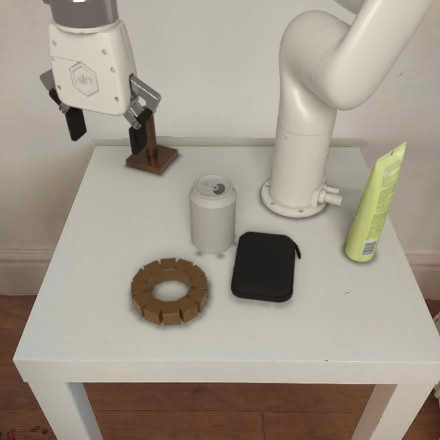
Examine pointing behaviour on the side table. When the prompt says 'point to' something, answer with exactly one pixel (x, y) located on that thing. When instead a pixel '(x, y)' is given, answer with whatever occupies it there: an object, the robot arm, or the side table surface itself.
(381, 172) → the tube
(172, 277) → the ring
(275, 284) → the carrying case
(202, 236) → the can
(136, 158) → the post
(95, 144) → the side table surface
